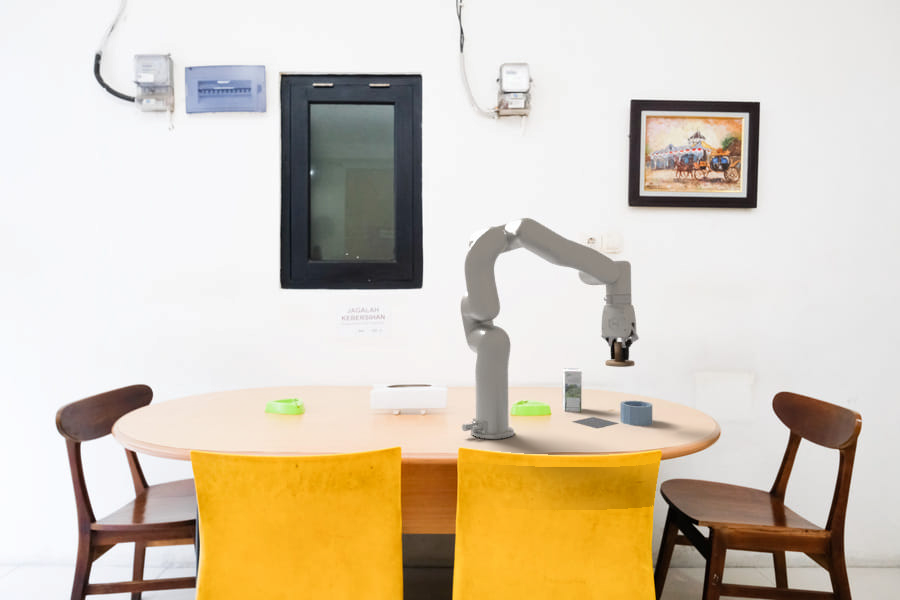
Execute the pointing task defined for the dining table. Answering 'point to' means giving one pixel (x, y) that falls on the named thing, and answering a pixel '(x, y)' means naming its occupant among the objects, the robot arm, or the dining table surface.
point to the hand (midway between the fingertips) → (619, 359)
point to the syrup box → (572, 389)
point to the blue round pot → (636, 413)
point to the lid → (619, 358)
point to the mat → (595, 422)
